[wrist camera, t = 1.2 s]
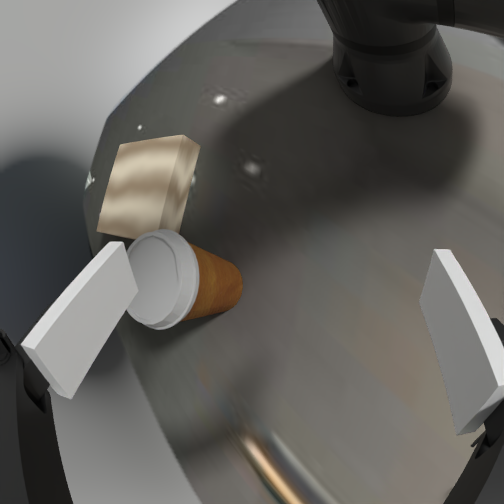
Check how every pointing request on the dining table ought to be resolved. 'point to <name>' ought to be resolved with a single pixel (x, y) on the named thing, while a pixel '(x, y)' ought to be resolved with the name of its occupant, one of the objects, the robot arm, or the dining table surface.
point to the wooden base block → (148, 186)
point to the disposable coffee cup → (179, 280)
